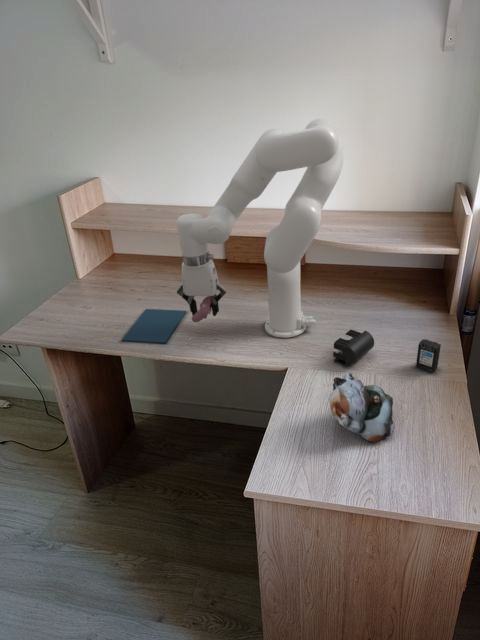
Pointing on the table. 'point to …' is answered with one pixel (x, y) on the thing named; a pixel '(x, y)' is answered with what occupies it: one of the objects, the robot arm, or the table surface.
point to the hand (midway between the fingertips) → (205, 313)
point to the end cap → (352, 347)
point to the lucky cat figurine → (362, 408)
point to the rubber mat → (154, 326)
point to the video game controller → (203, 310)
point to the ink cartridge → (428, 355)
